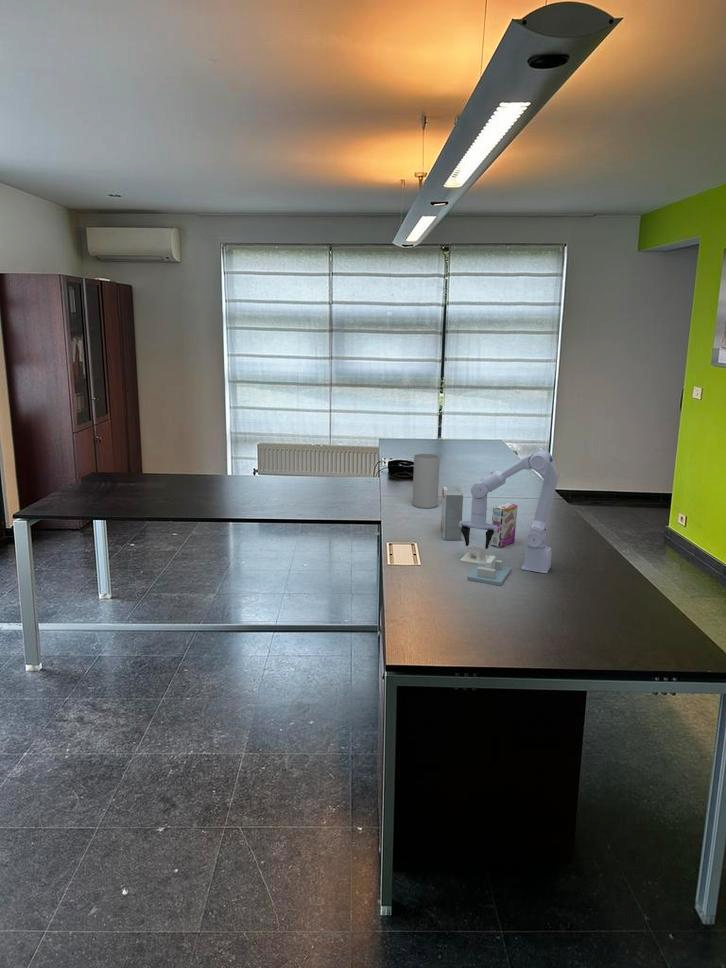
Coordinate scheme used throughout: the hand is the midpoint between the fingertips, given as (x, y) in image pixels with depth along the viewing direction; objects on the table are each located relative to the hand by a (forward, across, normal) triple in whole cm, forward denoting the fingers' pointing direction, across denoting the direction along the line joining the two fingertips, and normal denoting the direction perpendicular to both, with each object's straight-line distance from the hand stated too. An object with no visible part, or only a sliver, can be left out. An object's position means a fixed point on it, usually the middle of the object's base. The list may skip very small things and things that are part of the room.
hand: (477, 546), depth 259 cm
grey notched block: (+5, 0, 0) cm, 5 cm away
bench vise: (+5, -9, +15) cm, 18 cm away
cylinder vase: (+5, +44, -66) cm, 80 cm away
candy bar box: (+5, -5, -23) cm, 24 cm away
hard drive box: (+5, +18, -25) cm, 31 cm away
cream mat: (+5, 0, 0) cm, 5 cm away
